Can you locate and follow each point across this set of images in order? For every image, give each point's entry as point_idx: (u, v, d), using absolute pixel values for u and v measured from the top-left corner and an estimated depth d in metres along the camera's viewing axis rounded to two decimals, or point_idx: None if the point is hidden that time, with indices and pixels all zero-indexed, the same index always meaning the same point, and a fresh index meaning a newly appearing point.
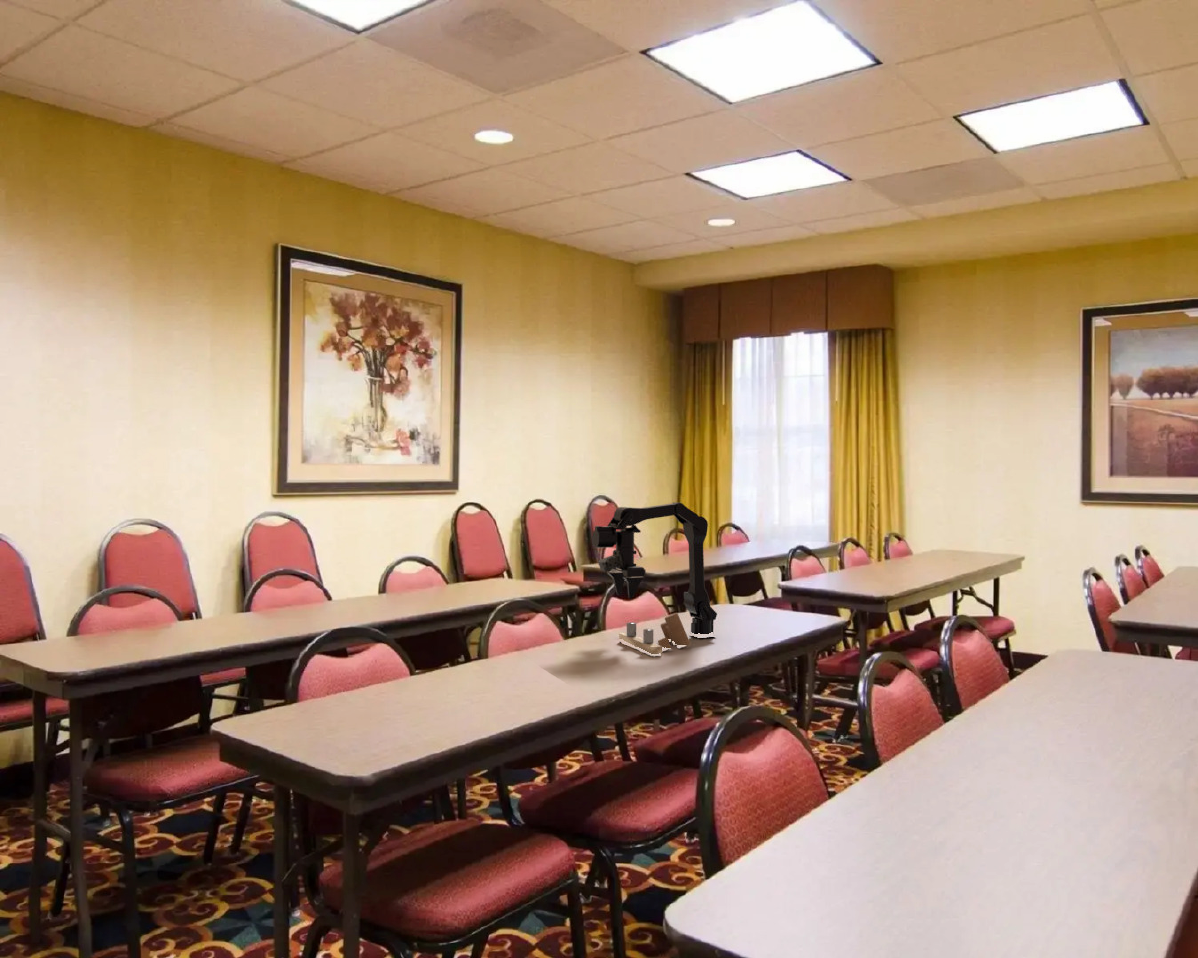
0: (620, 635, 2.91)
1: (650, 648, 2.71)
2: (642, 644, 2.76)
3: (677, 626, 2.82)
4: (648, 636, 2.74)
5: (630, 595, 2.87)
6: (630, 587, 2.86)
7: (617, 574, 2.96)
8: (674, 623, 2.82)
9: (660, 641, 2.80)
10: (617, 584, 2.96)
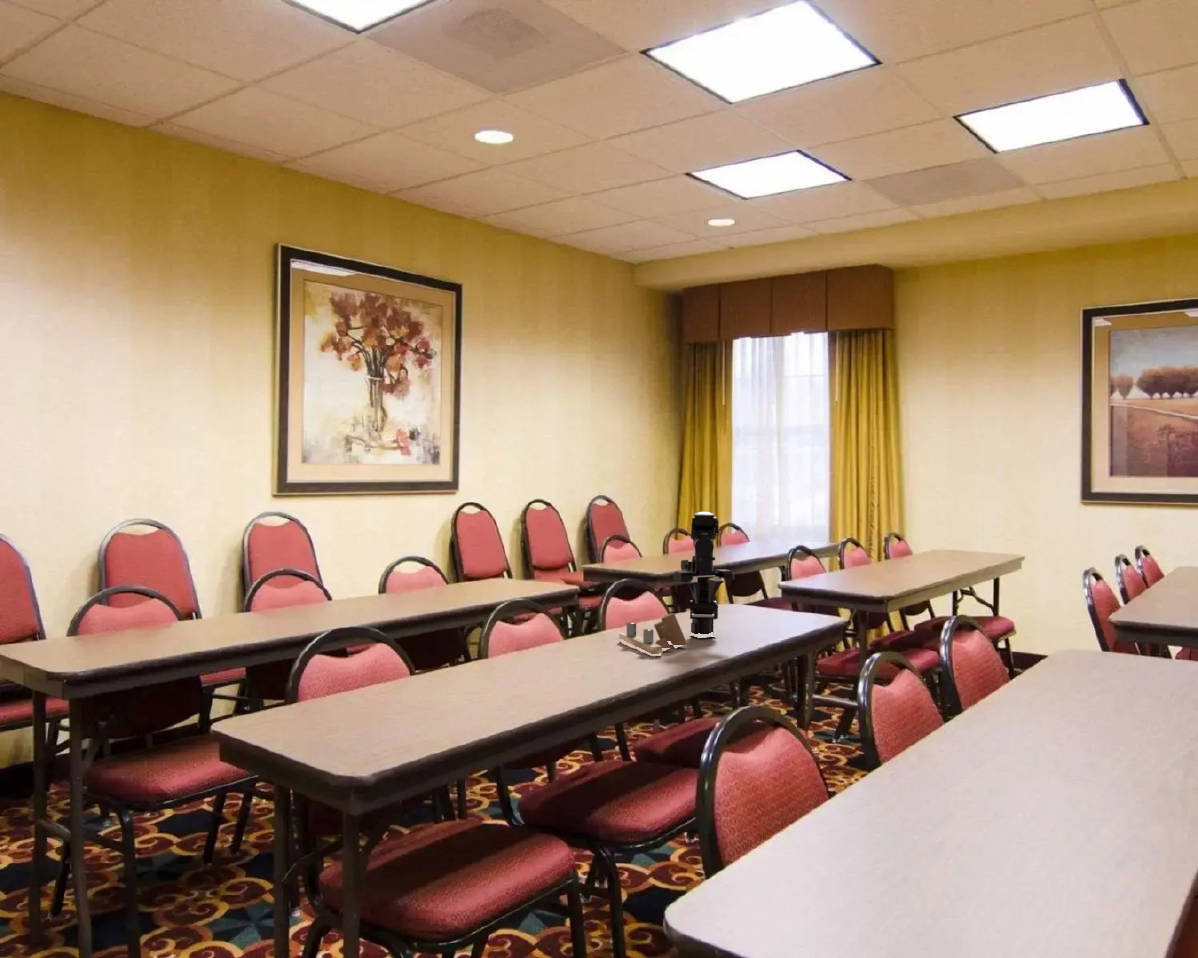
0: (620, 635, 2.91)
1: (650, 648, 2.71)
2: (642, 644, 2.76)
3: (674, 626, 2.82)
4: (648, 636, 2.74)
5: (695, 600, 2.89)
6: (692, 591, 2.89)
7: (711, 582, 2.91)
8: (671, 623, 2.82)
9: (658, 641, 2.79)
10: (710, 591, 2.91)
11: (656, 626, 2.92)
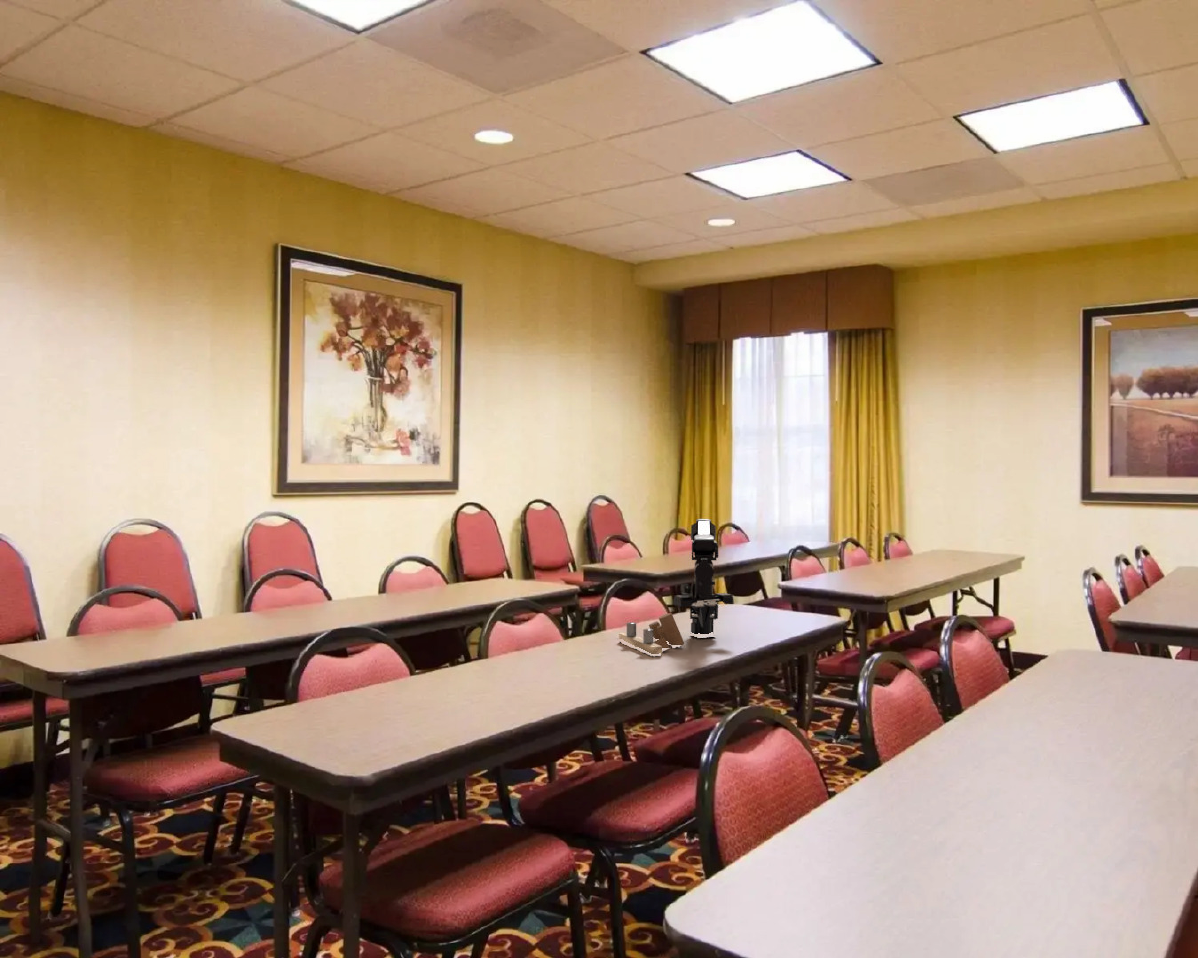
0: (620, 635, 2.91)
1: (650, 648, 2.71)
2: (642, 644, 2.76)
3: (672, 626, 2.82)
4: (648, 636, 2.74)
5: (701, 624, 2.90)
6: (698, 615, 2.90)
7: (704, 606, 2.90)
8: (669, 623, 2.82)
9: (657, 642, 2.79)
10: None
11: (652, 626, 2.91)
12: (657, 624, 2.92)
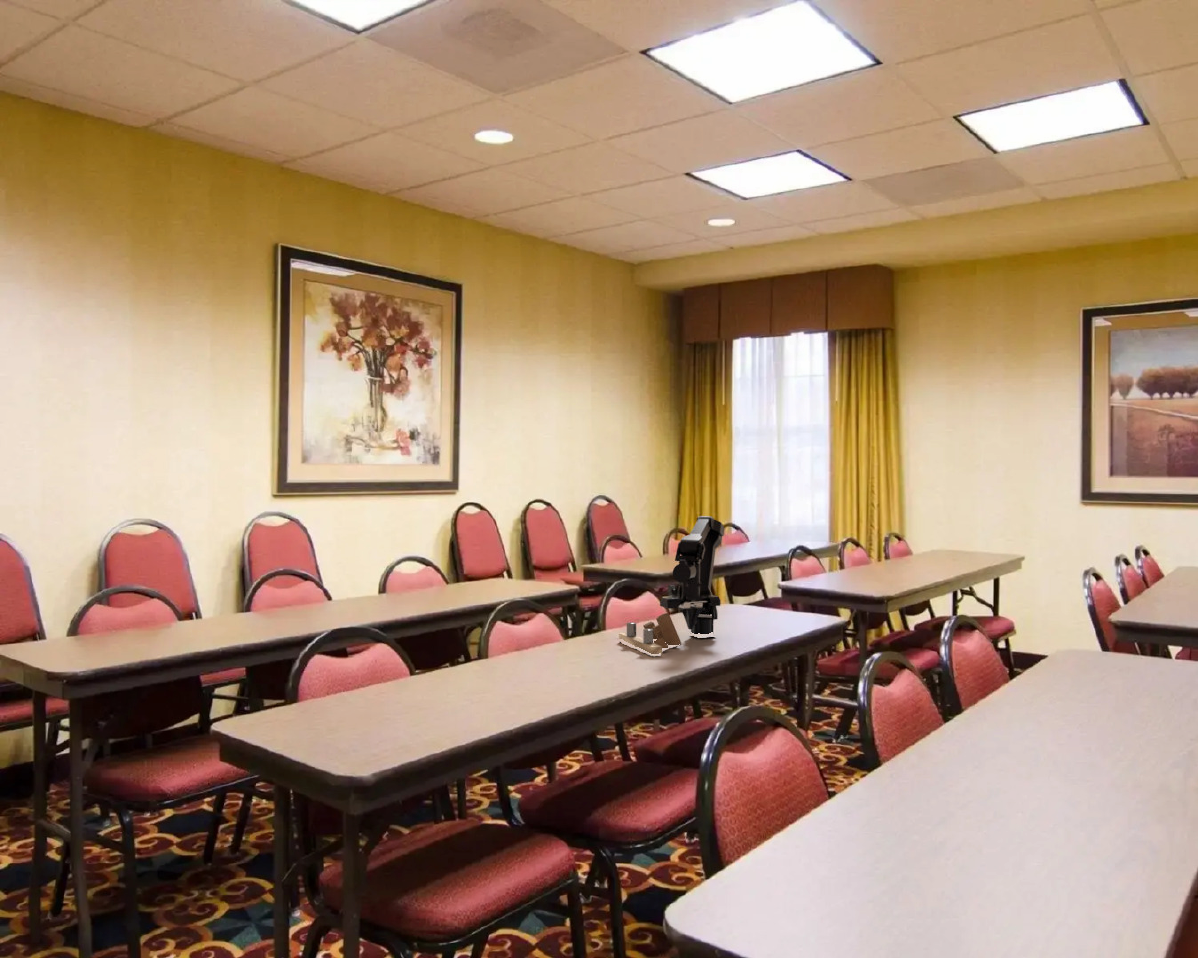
0: (620, 635, 2.91)
1: (650, 648, 2.71)
2: (642, 644, 2.76)
3: (670, 626, 2.82)
4: (648, 636, 2.74)
5: (688, 626, 2.88)
6: (685, 617, 2.88)
7: (691, 608, 2.88)
8: (667, 624, 2.82)
9: (656, 642, 2.78)
10: None
11: (647, 627, 2.91)
12: (652, 624, 2.91)
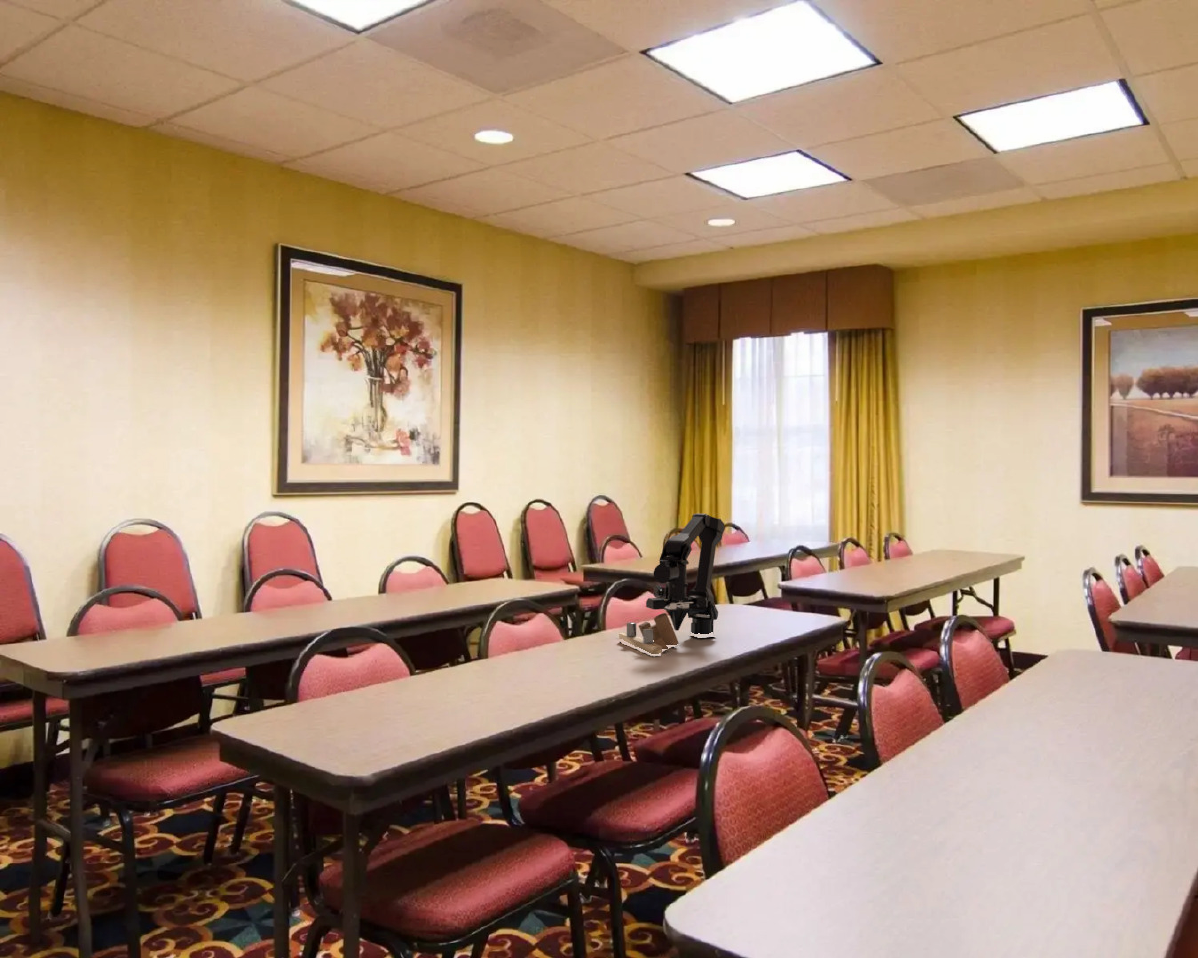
0: (620, 635, 2.91)
1: (650, 648, 2.71)
2: (642, 644, 2.76)
3: (668, 626, 2.82)
4: (648, 636, 2.74)
5: (674, 627, 2.86)
6: (671, 618, 2.86)
7: (678, 609, 2.87)
8: (665, 624, 2.82)
9: (655, 642, 2.78)
10: None
11: (643, 627, 2.90)
12: (648, 624, 2.90)
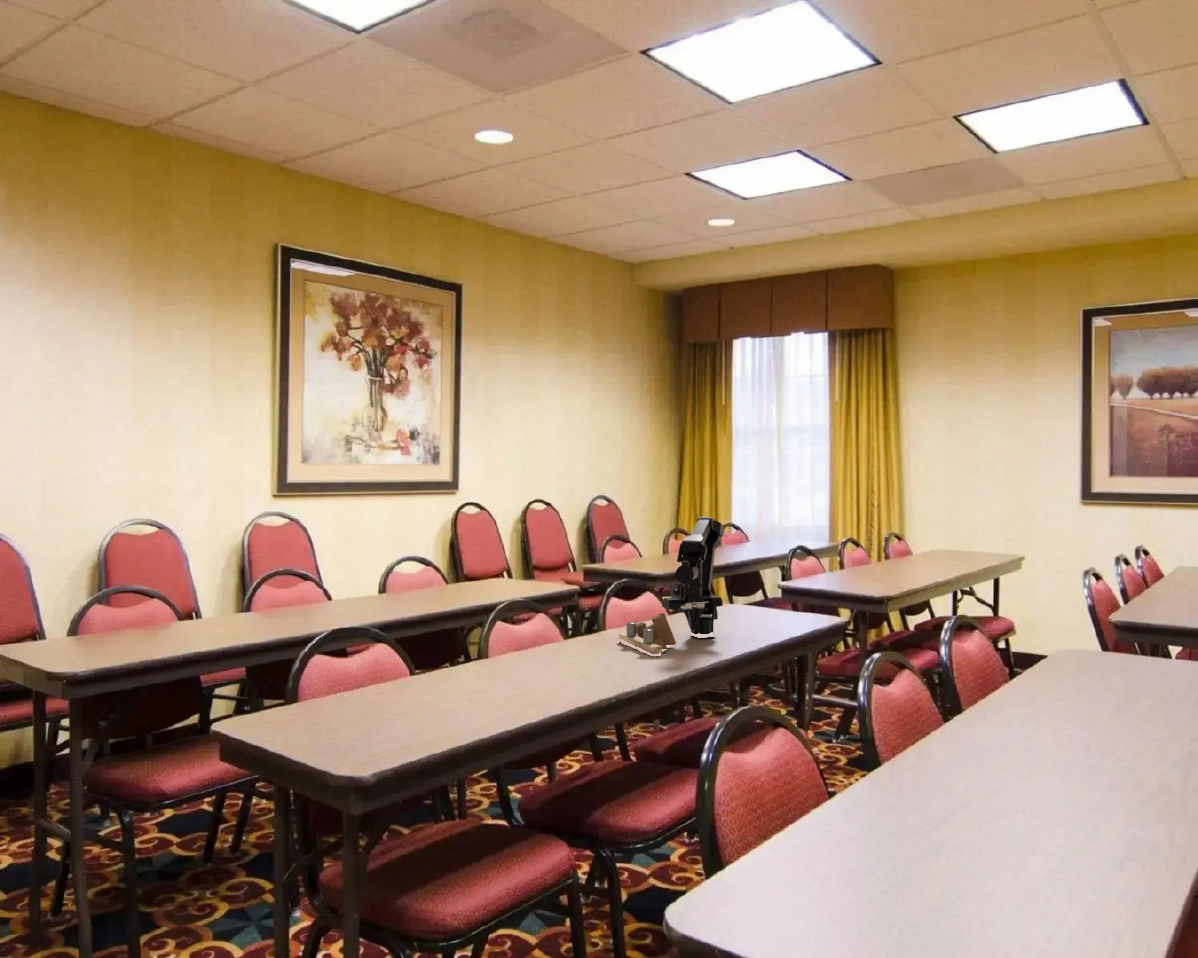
0: (620, 635, 2.91)
1: (650, 648, 2.71)
2: (642, 644, 2.76)
3: (666, 626, 2.82)
4: (648, 636, 2.74)
5: (690, 626, 2.88)
6: (687, 618, 2.89)
7: (693, 608, 2.89)
8: (663, 624, 2.81)
9: (654, 642, 2.77)
10: None
11: (639, 627, 2.89)
12: (644, 625, 2.90)
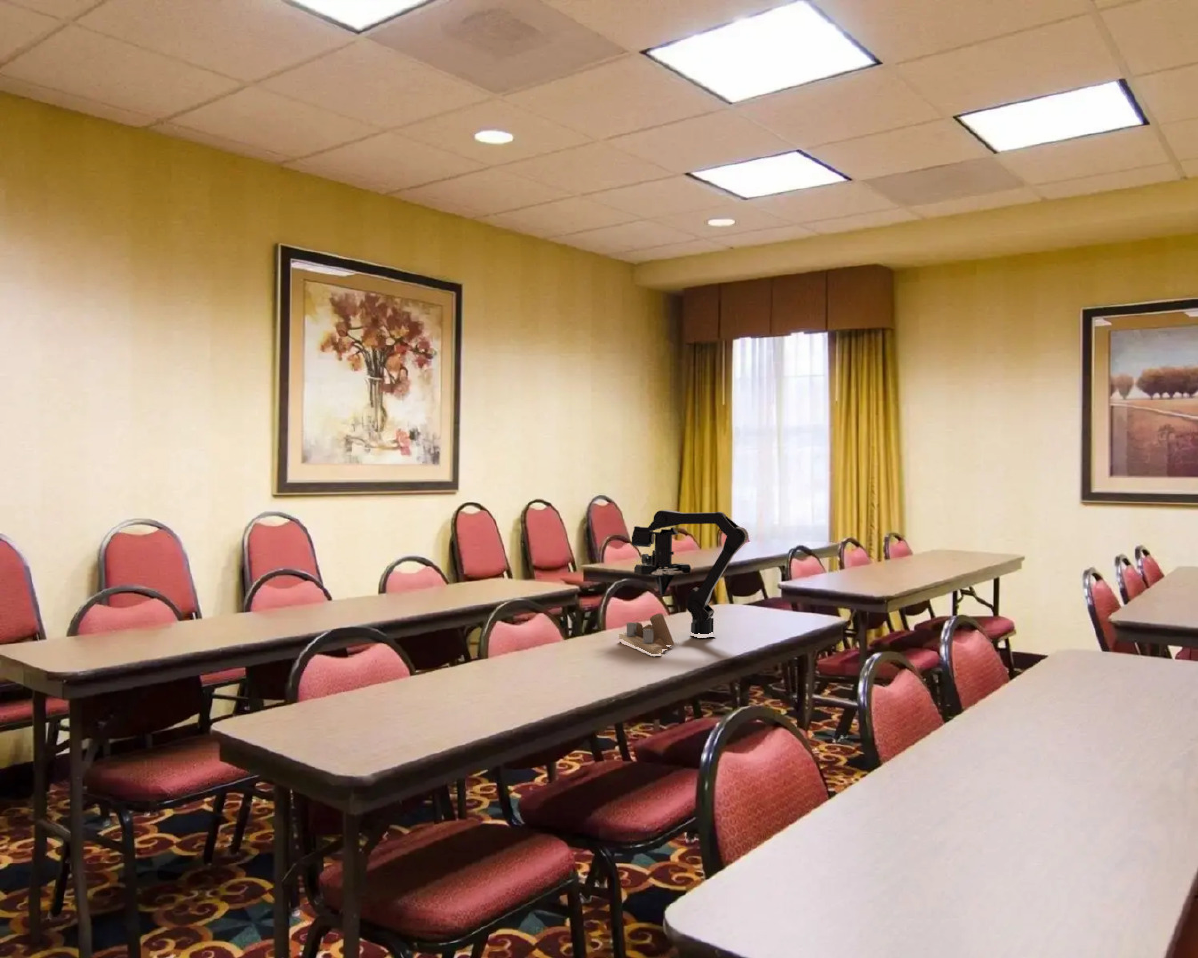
0: (620, 635, 2.91)
1: (650, 648, 2.71)
2: (642, 644, 2.76)
3: (664, 626, 2.82)
4: (648, 636, 2.74)
5: (660, 592, 3.07)
6: (657, 583, 3.07)
7: (664, 575, 3.07)
8: (662, 624, 2.81)
9: (655, 643, 2.77)
10: None
11: None
12: (640, 625, 2.89)
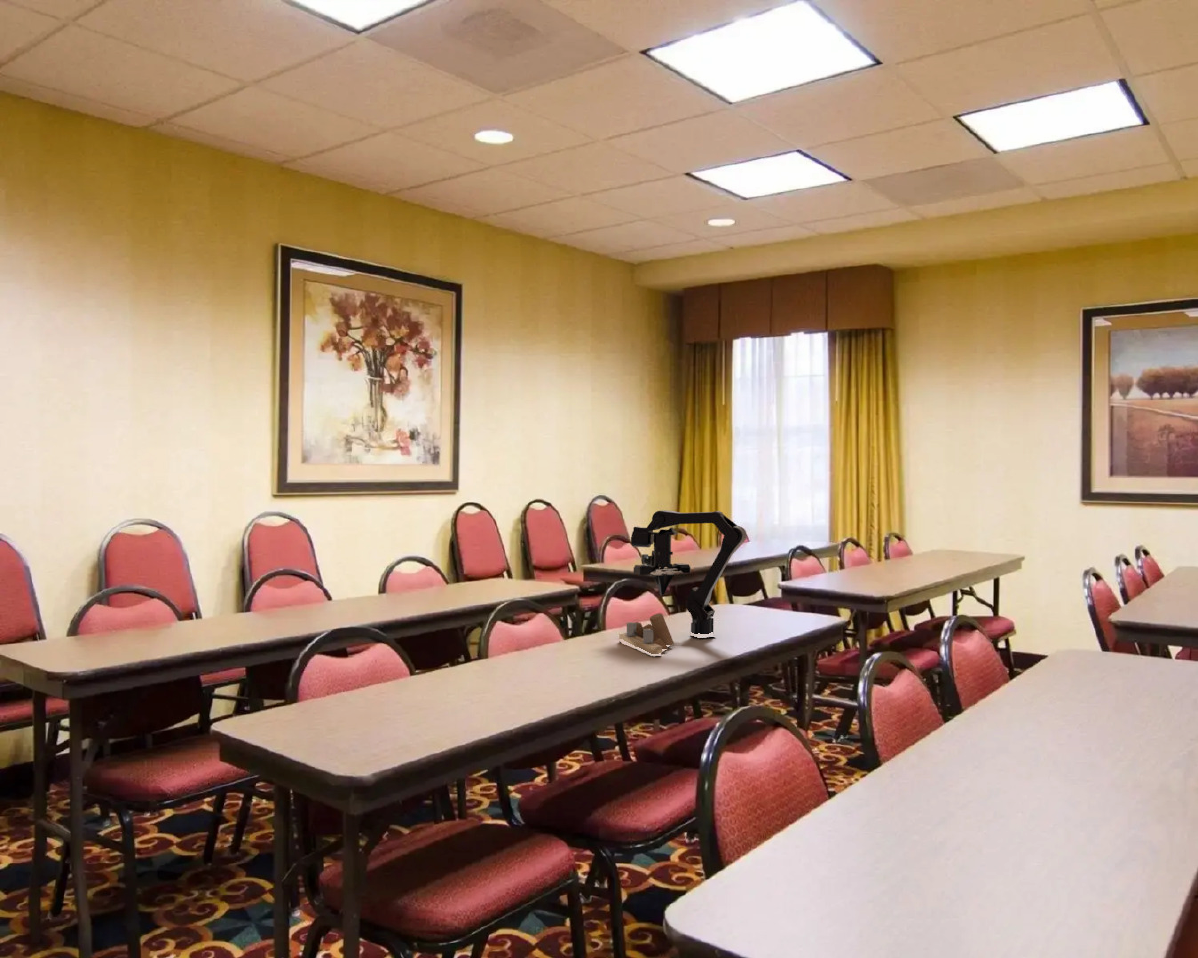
0: (620, 635, 2.91)
1: (650, 648, 2.71)
2: (642, 644, 2.76)
3: (664, 626, 2.82)
4: (648, 636, 2.74)
5: (660, 592, 3.07)
6: (657, 583, 3.08)
7: (663, 575, 3.08)
8: (662, 623, 2.81)
9: (654, 642, 2.77)
10: None
11: None
12: (640, 625, 2.89)
